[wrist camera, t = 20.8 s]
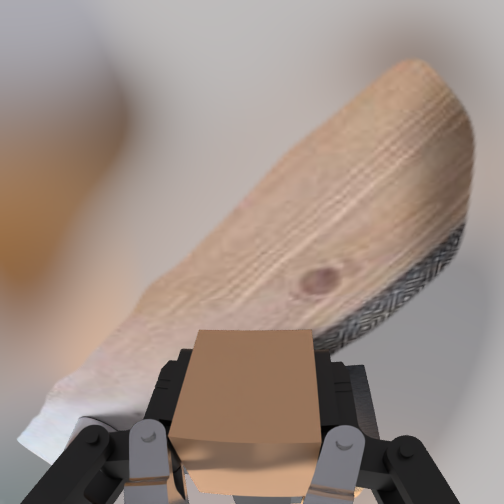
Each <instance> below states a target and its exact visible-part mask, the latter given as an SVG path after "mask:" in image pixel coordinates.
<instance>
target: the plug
mask: <svg viewBox="0 0 504 504" xmlns="http://www.w3.org/2000/svg"><path fill="white" fill-rule="evenodd" d="M168 437H169V439H170V441H171V443H172V445H173V447H174V448H175V450H176V452H177V454H178V456H179V458H180V459H181V461H182V463H183V465H184V466H185V468H186V470H187V472H188V473H189V475H190V477H191V478H192V480H193V482H194V483H195V485H196V487H197V488H198V490H199V492H204V493H213V494H224V495H233V498H234V501H235V503H236V504H291V497H298V496H306V494H307V491H308V488H309V486H310V484H311V481H312V478H313V475H314V472H315V468H316V464H317V460H318V456H319V451H320V447H321V427H320V414H319V402H318V390H317V379H316V368H315V358H314V348H313V338H312V330H265V331H238V330H199V332H198V335H197V338H196V341H195V345H194V348H193V351H192V355H191V358H190V362H189V365H188V368H187V372H186V375H185V378H184V382H183V385H182V389H181V392H180V396H179V399H178V403H177V406H176V410H175V413H174V417H173V420H172V424H171V427H170V431H169V434H168Z"/></svg>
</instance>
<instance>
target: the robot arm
mask: <svg viewBox="0 0 504 504" xmlns="http://www.w3.org/2000/svg"><path fill="white" fill-rule="evenodd" d="M192 351H193V349H181V351H180V354H179V357H178V360H177V361H173V360H169V361H168V362H167V364H166V365H165V366H164V367H163V368H162V369H161V372H160V374H159V377H158V381H157V383H156V385H155V389H154V391H153V394H152V397H151V399H150V402H149V405H148V408H147V411H146V414H145V416H144V419H143V420H141V421H139V422H137V423H136V424H135V425H134V426H133V427H132V428H131V429H130V430H126V431H116V430H115V429H113V428H112V427H110V426H109V425H107V424H105V423H103V422H100V421H98V420H95V419H92V418H86V417H83V418H79V420H78V421H77V424H76V426H75V428H74V430H73V432H72V434H71V436H70V438H69V441H68V443H67V445H66V447H65V449H64V452H63V453H62V454H61V455H60V456H59V458H58V459H57V460H56V461H55V462H54V464H53V465H52V466H51V467H50V468H49V470H48V471H47V472H46V473H45V475H44V476H43V477H42V478H41V479H40V480H39V482H38V483H37V484H36V485H35V487H34V488H33V489H32V490H31V491H30V493H29V494H28V495H27V496H26V497H25V499H24V500H23V501H22V503H21V504H113V503H114V502H115V501H116V499H117V498H118V497H119V495H120V494H121V492H122V491H123V489H124V504H189V500H188V495H187V489H186V482H185V474H184V467H183V463H182V461H181V459H180V458H179V456H178V454H177V452H176V450H175V448H174V447H173V445H172V443H171V441H170V439H169V437H168V434H169V431H170V427H171V424H172V420H173V417H174V413H175V410H176V406H177V403H178V399H179V396H180V392H181V389H182V385H183V382H184V378H185V375H186V372H187V368H188V365H189V362H190V358H191V355H192ZM314 358H315V368H316V379H317V390H318V402H319V414H320V427H321V447H320V451H319V456H318V463H317V466H316V469H315V472H314V475H313V478H312V481H311V484H310V486H309V488H308V491H307V494H306V496H305V499H304V502H303V504H353V501H354V490H355V486H356V487H362V488H368V489H371V490H372V492H373V494H374V496H375V498H376V500H377V502H378V504H460V503H459V501H458V499H457V498H456V496H455V495H454V493H453V491H452V490H451V488H450V486H449V485H448V483H447V482H446V480H445V478H444V477H443V475H442V474H441V472H440V470H439V469H438V467H437V466H436V464H435V463H434V461H433V459H432V458H431V456H430V455H429V453H428V451H427V450H426V448H425V447H424V445H423V444H422V442H421V441H420V440H419V439H417V438H415V437H413V436H408V435H405V436H399V437H397V438H395V439H394V440H392V441H385V440H379V439H374V438H371V437H369V436H367V435H366V434H365V433H363V432H362V430H361V429H360V427H359V425H358V420H357V414H356V408H355V402H354V396H353V393H352V385H351V380H350V374H349V370H348V369H347V368H346V367H345V365H344V364H343V363H342V362H331V359H330V353H329V350H328V349H327V350H314Z"/></svg>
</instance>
